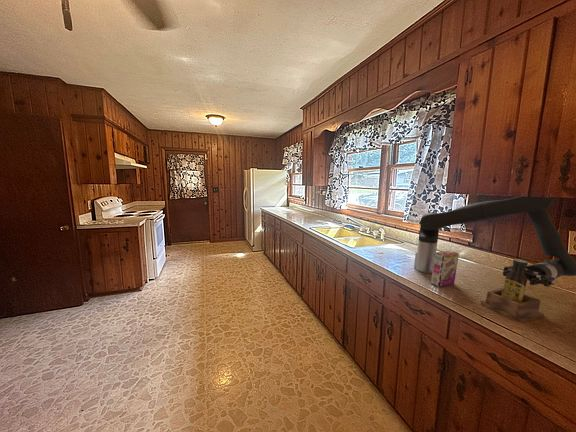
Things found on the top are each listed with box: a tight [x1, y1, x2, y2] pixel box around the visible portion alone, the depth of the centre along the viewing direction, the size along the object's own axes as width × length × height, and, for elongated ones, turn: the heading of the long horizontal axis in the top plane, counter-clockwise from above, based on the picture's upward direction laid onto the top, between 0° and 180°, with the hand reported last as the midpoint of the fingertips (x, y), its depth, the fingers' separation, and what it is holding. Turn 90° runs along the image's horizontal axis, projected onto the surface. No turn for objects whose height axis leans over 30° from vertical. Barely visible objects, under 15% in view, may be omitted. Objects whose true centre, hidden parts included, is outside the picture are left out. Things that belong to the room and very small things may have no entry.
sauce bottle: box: [501, 258, 529, 303], centre depth 95 cm, size 7×6×20 cm
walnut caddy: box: [480, 287, 544, 324], centre depth 96 cm, size 14×14×6 cm
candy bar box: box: [430, 250, 460, 288], centre depth 118 cm, size 11×5×16 cm, turn 111°
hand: (517, 277), depth 95 cm, fingers open, 8 cm apart
